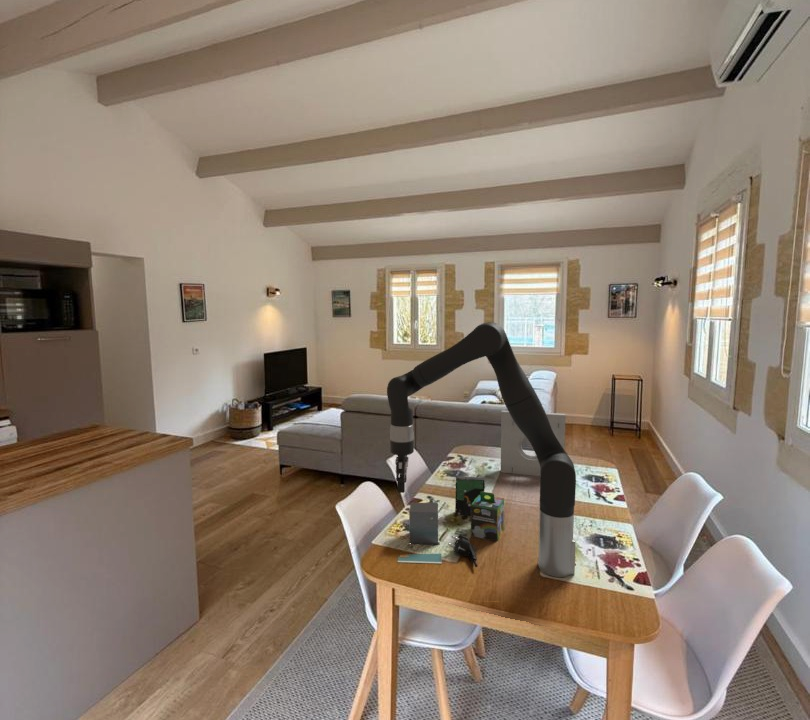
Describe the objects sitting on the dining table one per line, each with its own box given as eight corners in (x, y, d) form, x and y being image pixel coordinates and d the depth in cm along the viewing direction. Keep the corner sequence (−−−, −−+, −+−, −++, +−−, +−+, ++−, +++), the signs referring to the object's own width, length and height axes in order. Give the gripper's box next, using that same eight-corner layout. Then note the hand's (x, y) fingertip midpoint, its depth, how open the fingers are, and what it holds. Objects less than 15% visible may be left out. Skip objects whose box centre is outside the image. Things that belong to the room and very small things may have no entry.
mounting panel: (500, 479, 195) (500, 412, 192) (500, 475, 200) (501, 410, 197) (563, 485, 187) (565, 416, 184) (563, 481, 192) (565, 413, 189)
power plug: (483, 558, 124) (474, 537, 136) (459, 548, 124) (452, 527, 136) (474, 575, 125) (465, 553, 137) (450, 565, 124) (444, 543, 136)
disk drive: (484, 516, 158) (484, 477, 157) (484, 520, 156) (484, 480, 154) (455, 514, 160) (455, 475, 159) (455, 517, 158) (455, 478, 156)
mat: (441, 548, 137) (441, 547, 137) (441, 564, 128) (441, 563, 128) (399, 547, 138) (399, 546, 138) (397, 563, 129) (397, 561, 129)
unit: (439, 534, 146) (439, 502, 145) (439, 546, 138) (439, 513, 137) (409, 533, 147) (409, 501, 146) (408, 545, 139) (407, 512, 138)
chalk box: (504, 531, 148) (505, 488, 146) (497, 543, 140) (498, 499, 138) (478, 525, 152) (478, 484, 150) (469, 537, 144) (470, 493, 142)
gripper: (412, 444, 132) (412, 496, 134) (414, 432, 146) (414, 479, 148) (387, 444, 133) (388, 495, 134) (392, 431, 147) (392, 478, 148)
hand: (402, 487), depth 141 cm, fingers open, 8 cm apart
